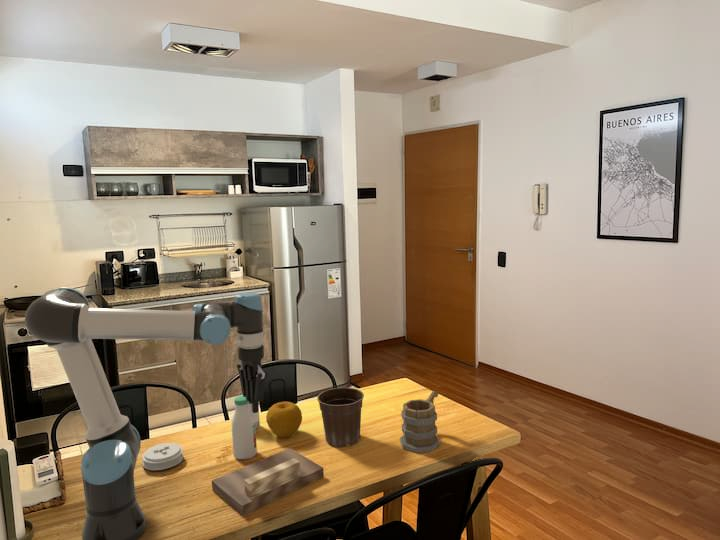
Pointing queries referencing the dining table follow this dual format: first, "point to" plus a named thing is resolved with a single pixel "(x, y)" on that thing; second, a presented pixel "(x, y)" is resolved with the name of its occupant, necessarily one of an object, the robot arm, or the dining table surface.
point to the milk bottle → (243, 431)
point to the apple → (284, 419)
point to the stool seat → (235, 495)
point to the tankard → (419, 425)
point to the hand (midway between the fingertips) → (253, 421)
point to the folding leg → (271, 477)
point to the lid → (162, 456)
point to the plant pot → (341, 415)
